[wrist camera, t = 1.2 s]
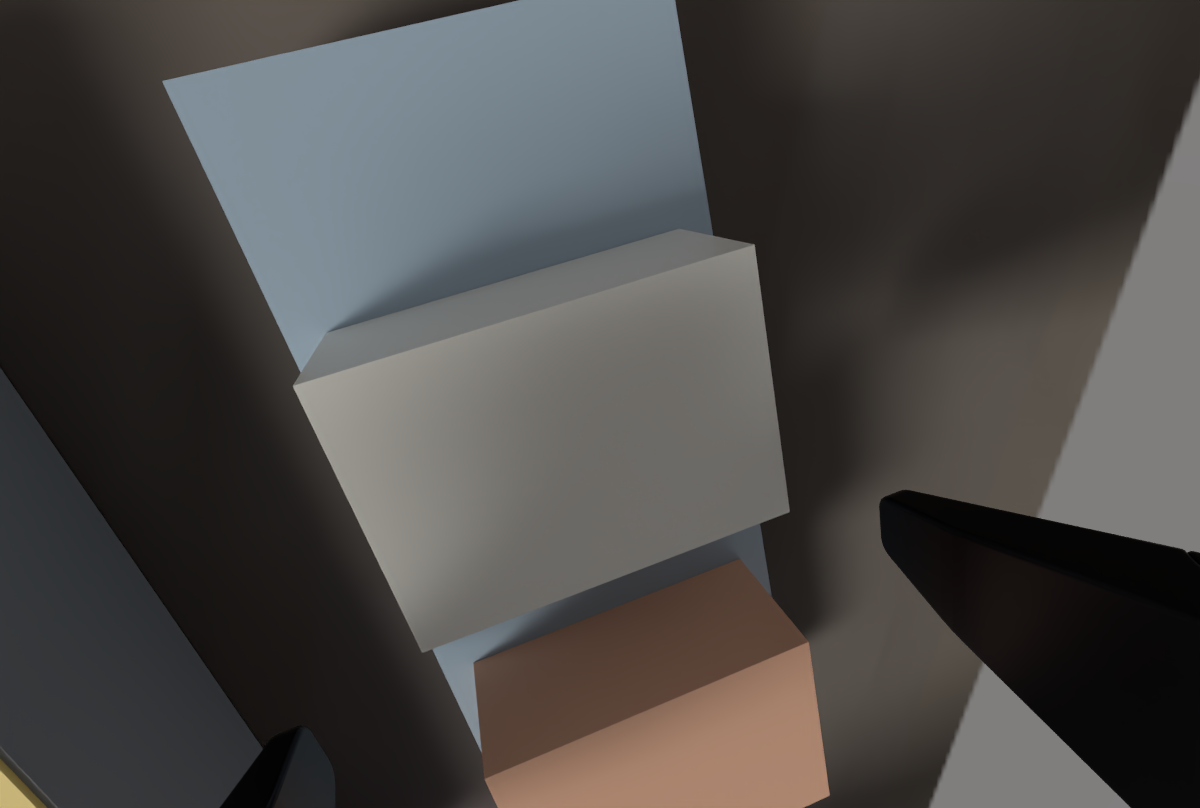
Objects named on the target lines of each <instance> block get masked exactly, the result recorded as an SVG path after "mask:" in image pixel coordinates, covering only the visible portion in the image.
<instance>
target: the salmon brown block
mask: <svg viewBox="0 0 1200 808" xmlns="http://www.w3.org/2000/svg"><path fill="white" fill-rule="evenodd" d="M473 666H474V676H475V687H476V697H477V708H478V718H479V729H480V739H481V750H482V760H483V770H484V779H485V782H486V784H487V786H488V788H489V790H490V792H491V794H492V796H493V798H494V800H495V802H496V804H497V806H498V808H804V807H806V806H808V805H810V804H813V803H815V802H817V801H819V800H821V799H823V798H825V797H827V796H830V794H829V786H828V779H827V772H826V765H825V757H824V750H823V743H822V735H821V728H820V721H819V714H818V706H817V699H816V692H815V684H814V677H813V670H812V663H811V655H810V648H809V642H808V640H807V639H806V638H805V637H804V636H803V634H802V633H801V632H800V631H799V630H798V628H797V627H796V626H795V625H794V624H793V622H792V621H791V620H790V619H789V618H788V616H787V615H786V614H785V613H784V611H783V610H782V609H781V608H780V607H779V605H778V604H777V603H776V602H775V601H774V599H773V598H772V597H771V596H770V595H769V593H768V592H767V591H766V590H765V589H764V587H763V586H762V585H761V584H760V582H759V581H758V580H757V579H756V578H755V576H754V575H753V574H752V573H751V572H750V570H749V569H748V568H747V567H746V566H745V564H744V563H743V562H742V561H741V560H740V559H737V560H735V561H732V562H730V563H727V564H725V565H722V566H719V567H717V568H714V569H712V570H709V571H707V572H704V573H702V574H699V575H696V576H694V577H691V578H689V579H686V580H684V581H681V582H679V583H676V584H674V585H671V586H668V587H666V588H663V589H661V590H658V591H656V592H653V593H651V594H648V595H645V596H643V597H640V598H638V599H635V600H633V601H630V602H628V603H625V604H623V605H620V606H617V607H615V608H612V609H610V610H607V611H605V612H602V613H600V614H597V615H595V616H592V617H589V618H587V619H584V620H582V621H579V622H577V623H574V624H572V625H569V626H566V627H564V628H561V629H559V630H556V631H554V632H551V633H549V634H546V635H544V636H541V637H538V638H536V639H533V640H531V641H528V642H526V643H523V644H521V645H518V646H515V647H513V648H510V649H508V650H505V651H503V652H500V653H498V654H495V655H493V656H490V657H487V658H485V659H482V660H480V661H477V662H475V663H473Z"/></svg>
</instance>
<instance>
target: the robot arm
mask: <svg viewBox="0 0 1200 808" xmlns="http://www.w3.org/2000/svg"><path fill="white" fill-rule="evenodd" d="M879 510H880V525H881V539H882V543H883V546H884V548H885V550H886V552H887V554H888V555H889V556H890V557H891V559H892V560H893V561H894V562H895V563H896V565H897V566H898V567H899V568H900V569H901V571H902V572H903V573H904V574H905V575H906V577H907V578H908V579H909V580H910V581H911V583H912V584H913V585H914V586H915V587H916V589H917V590H918V591H919V592H920V593H921V595H922V596H923V597H924V598H925V599H926V601H927V602H928V603H929V604H930V605H931V607H932V608H933V609H934V610H935V611H936V613H937V614H938V615H939V616H940V617H941V619H942V620H943V621H944V622H945V623H946V624H947V625H948V626H949V628H950V629H951V630H952V631H953V632H954V633H955V634H956V635H957V636H958V637H959V638H960V639H961V640H962V641H963V642H964V643H965V644H966V645H967V646H968V647H969V648H970V649H971V650H972V651H973V652H974V653H975V654H976V655H977V656H978V657H979V658H980V659H981V660H982V661H983V662H984V663H985V664H986V665H987V666H988V667H989V668H990V669H991V670H992V671H993V672H994V673H995V674H996V675H997V676H998V677H999V678H1000V679H1001V680H1002V681H1003V682H1004V683H1005V684H1006V685H1007V686H1008V687H1009V688H1010V689H1011V690H1012V691H1013V692H1014V693H1015V694H1016V695H1017V696H1018V697H1019V698H1020V699H1021V700H1023V702H1024V703H1025V704H1026V705H1027V706H1029V708H1030V709H1031V710H1033V712H1034V713H1035V714H1037V715H1038V716H1039V717H1040V718H1041V719H1042V720H1043V721H1044V722H1045V723H1046V724H1047V725H1048V726H1049V727H1050V728H1051V729H1052V730H1053V731H1054V732H1055V733H1056V734H1057V735H1058V736H1059V737H1060V738H1061V739H1062V740H1063V741H1064V742H1065V743H1066V744H1067V745H1068V746H1069V747H1070V748H1071V749H1072V750H1073V751H1074V752H1075V753H1076V754H1077V755H1078V756H1079V757H1080V758H1081V759H1082V760H1083V761H1084V762H1085V763H1086V764H1087V765H1088V766H1089V767H1090V768H1091V769H1092V770H1093V771H1094V772H1095V773H1096V774H1097V775H1098V776H1099V777H1100V778H1101V779H1102V780H1103V781H1104V782H1105V783H1107V784H1108V785H1109V787H1111V789H1112V790H1113V791H1114V792H1116V793H1117V794H1118V795H1119V796H1120V797H1121V798H1122V799H1123V800H1124V801H1125V802H1126V803H1127V804H1128V805H1129V806H1130V807H1131V808H1200V553H1199V552H1194V551H1190V552H1188V553H1187V552H1186V551H1185V550H1183V549H1180V548H1175V547H1170V546H1166V545H1161V544H1156V543H1152V542H1147V541H1142V540H1138V539H1133V538H1129V537H1124V536H1119V535H1115V534H1110V533H1105V532H1101V531H1096V530H1092V529H1086V528H1082V527H1078V526H1073V525H1068V524H1064V523H1059V522H1054V521H1050V520H1045V519H1041V518H1036V517H1031V516H1027V515H1022V514H1017V513H1013V512H1008V511H1003V510H999V509H994V508H989V507H985V506H980V505H976V504H971V503H966V502H962V501H957V500H952V499H948V498H943V497H938V496H934V495H929V494H924V493H920V492H915V491H911V490H901V491H898V492H896V493H893V494H890V495H888V496H885V497H884V498H882V499H881V501H880V504H879ZM219 808H335V776H334V771H333V767H332V765H331V762H330V761H329V759H328V757H327V756H326V754H325V753H324V751H323V749H322V748H321V746H320V745H319V743H318V741H317V740H316V738H315V737H314V735H313V733H312V732H311V731H310V729H309V728H307V727H306V726H298V727H295V728H293V729H290V730H287V731H285V732H282V733H280V734H277V735H276V736H274V737H273V738H271V739H270V741H269V742H268V743H267V744H266V746H265V747H264V748H263V750H262V751H261V752H260V754H259V755H258V756H257V758H256V759H255V760H254V762H253V763H252V764H251V766H250V767H249V768H248V770H247V771H246V772H245V774H244V775H243V776H242V778H241V779H240V781H239V782H238V783H237V785H236V786H235V787H234V789H233V790H232V791H231V793H230V794H229V795H228V797H227V798H226V799H225V801H224V802H223V803H222V805H221V806H220V807H219Z"/></svg>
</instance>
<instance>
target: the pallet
mask: <svg viewBox="0 0 1200 808" xmlns="http://www.w3.org/2000/svg"><path fill="white" fill-rule="evenodd" d="M162 82H163V84H164V86H165V88H166V90H167V93H168V95H169V97H170V99H171V101H172V103H173V105H174V107H175V109H176V111H177V114H178V116H179V118H180V120H181V122H182V124H183V126H184V128H185V130H186V133H187V135H188V137H189V139H190V141H191V143H192V145H193V147H194V149H195V151H196V154H197V156H198V158H199V160H200V162H201V164H202V166H203V168H204V170H205V172H206V175H207V177H208V179H209V181H210V183H211V185H212V187H213V189H214V191H215V193H216V196H217V198H218V200H219V202H220V204H221V206H222V208H223V210H224V212H225V214H226V217H227V219H228V221H229V223H230V225H231V227H232V229H233V231H234V233H235V235H236V238H237V240H238V242H239V244H240V246H241V248H242V250H243V252H244V254H245V256H246V259H247V261H248V263H249V265H250V267H251V269H252V271H253V273H254V275H255V278H256V280H257V282H258V284H259V286H260V288H261V290H262V292H263V294H264V296H265V299H266V301H267V303H268V305H269V307H270V309H271V311H272V313H273V315H274V317H275V320H276V322H277V324H278V326H279V328H280V330H281V332H282V334H283V336H284V338H285V341H286V343H287V345H288V347H289V349H290V351H291V353H292V355H293V357H294V359H295V362H296V364H297V366H298V368H299V370H300V372H302V370H303V369H304V367H305V365H306V364H307V362H308V361H309V359H310V357H311V356H312V354H313V353H314V351H315V350H316V348H317V346H318V345H319V343H320V342H321V340H322V338H323V337H324V335H325V334H326V333H327V332H331V331H334V330H337V329H341V328H344V327H348V326H351V325H354V324H358V323H361V322H364V321H368V320H371V319H375V318H378V317H381V316H385V315H388V314H391V313H395V312H398V311H402V310H405V309H408V308H412V307H415V306H419V305H422V304H425V303H429V302H432V301H435V300H439V299H442V298H446V297H449V296H452V295H456V294H459V293H463V292H466V291H469V290H473V289H476V288H479V287H483V286H486V285H490V284H493V283H496V282H500V281H503V280H507V279H510V278H513V277H517V276H520V275H523V274H527V273H530V272H534V271H537V270H540V269H544V268H547V267H550V266H554V265H557V264H561V263H564V262H567V261H571V260H574V259H578V258H581V257H584V256H588V255H591V254H594V253H598V252H601V251H605V250H608V249H611V248H615V247H618V246H622V245H625V244H628V243H632V242H635V241H638V240H642V239H645V238H649V237H652V236H655V235H659V234H662V233H666V232H669V231H672V230H676V229H683V230H688V231H693V232H698V233H702V234H707V235H712V236H713V231H712V225H711V219H710V213H709V207H708V200H707V194H706V188H705V182H704V176H703V170H702V164H701V157H700V151H699V145H698V139H697V133H696V127H695V120H694V114H693V108H692V102H691V96H690V90H689V83H688V77H687V71H686V65H685V59H684V53H683V46H682V40H681V34H680V28H679V22H678V16H677V10H676V3H675V0H518V1H514V2H509V3H505V4H501V5H496V6H492V7H487V8H483V9H479V10H474V11H470V12H465V13H461V14H456V15H452V16H448V17H443V18H439V19H434V20H430V21H426V22H421V23H417V24H412V25H408V26H403V27H399V28H395V29H390V30H386V31H381V32H377V33H373V34H368V35H364V36H359V37H355V38H351V39H346V40H342V41H337V42H333V43H328V44H324V45H320V46H315V47H311V48H306V49H302V50H298V51H293V52H289V53H284V54H280V55H275V56H271V57H267V58H262V59H258V60H253V61H249V62H245V63H240V64H236V65H231V66H227V67H223V68H218V69H214V70H209V71H205V72H200V73H196V74H192V75H187V76H183V77H178V78H174V79H170V80H165V81H162ZM737 559H740V560H741V561H742V562H743V563H744V564H745V566H746V567H747V568H748V569H749V570H750V572H751V573H752V574H753V575H754V576H755V578H756V579H757V580H758V581H759V582H760V584H761V585H762V586H763V587H764V589H765V590H766V591H767V592H768V593H769V595H770V596H771V597H772V595H771V589H770V582H769V576H768V570H767V564H766V558H765V552H764V545H763V539H762V533H761V527H760V524H757V525H755V526H752V527H749V528H747V529H744V530H742V531H739V532H736V533H734V534H731V535H728V536H726V537H723V538H721V539H718V540H715V541H713V542H710V543H708V544H705V545H702V546H700V547H697V548H695V549H692V550H689V551H687V552H684V553H682V554H679V555H676V556H674V557H671V558H669V559H666V560H663V561H661V562H658V563H656V564H653V565H650V566H648V567H645V568H643V569H640V570H637V571H635V572H632V573H630V574H627V575H624V576H622V577H619V578H616V579H614V580H611V581H609V582H606V583H603V584H601V585H598V586H596V587H593V588H590V589H588V590H585V591H583V592H580V593H577V594H575V595H572V596H570V597H567V598H564V599H562V600H559V601H557V602H554V603H551V604H549V605H546V606H544V607H541V608H538V609H536V610H533V611H531V612H528V613H525V614H523V615H520V616H517V617H515V618H512V619H510V620H507V621H504V622H502V623H499V624H497V625H494V626H491V627H489V628H486V629H484V630H481V631H478V632H476V633H473V634H471V635H468V636H465V637H463V638H460V639H458V640H455V641H452V642H450V643H447V644H445V645H442V646H439V647H437V648H434V649H433V652H434V654H435V656H436V658H437V660H438V662H439V664H440V666H441V668H442V670H443V673H444V675H445V677H446V679H447V681H448V683H449V685H450V687H451V689H452V691H453V694H454V696H455V698H456V700H457V702H458V704H459V706H460V708H461V710H462V713H463V715H464V717H465V719H466V721H467V723H468V725H469V727H470V729H471V731H472V734H473V736H474V738H475V740H476V742H477V744H478V746H479V748H480V750H481V739H480V729H479V718H478V708H477V697H476V687H475V676H474V666H473V663H475V662H477V661H480V660H482V659H485V658H487V657H490V656H493V655H495V654H498V653H500V652H503V651H505V650H508V649H510V648H513V647H515V646H518V645H521V644H523V643H526V642H528V641H531V640H533V639H536V638H538V637H541V636H544V635H546V634H549V633H551V632H554V631H556V630H559V629H561V628H564V627H566V626H569V625H572V624H574V623H577V622H579V621H582V620H584V619H587V618H589V617H592V616H595V615H597V614H600V613H602V612H605V611H607V610H610V609H612V608H615V607H617V606H620V605H623V604H625V603H628V602H630V601H633V600H635V599H638V598H640V597H643V596H645V595H648V594H651V593H653V592H656V591H658V590H661V589H663V588H666V587H668V586H671V585H674V584H676V583H679V582H681V581H684V580H686V579H689V578H691V577H694V576H696V575H699V574H702V573H704V572H707V571H709V570H712V569H714V568H717V567H719V566H722V565H725V564H727V563H730V562H732V561H735V560H737ZM481 752H482V750H481Z"/></svg>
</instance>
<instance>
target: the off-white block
mask: <svg viewBox="0 0 1200 808" xmlns="http://www.w3.org/2000/svg"><path fill="white" fill-rule="evenodd" d="M293 388H294V390H295V392H296V394H297V396H298V398H299V400H300V402H301V404H302V406H303V408H304V411H305V413H306V415H307V417H308V419H309V421H310V423H311V425H312V427H313V429H314V431H315V433H316V435H317V437H318V439H319V441H320V444H321V446H322V448H323V450H324V452H325V454H326V456H327V458H328V460H329V462H330V464H331V466H332V468H333V470H334V472H335V474H336V476H337V479H338V481H339V483H340V485H341V487H342V489H343V491H344V493H345V495H346V497H347V499H348V501H349V503H350V505H351V507H352V509H353V511H354V514H355V516H356V518H357V520H358V522H359V524H360V526H361V528H362V530H363V532H364V534H365V536H366V538H367V540H368V542H369V544H370V546H371V549H372V551H373V553H374V555H375V557H376V559H377V561H378V563H379V565H380V567H381V569H382V571H383V573H384V575H385V577H386V579H387V581H388V584H389V586H390V588H391V590H392V592H393V594H394V596H395V598H396V600H397V602H398V604H399V606H400V608H401V610H402V612H403V614H404V616H405V619H406V621H407V623H408V625H409V627H410V629H411V631H412V633H413V635H414V637H415V639H416V641H417V643H418V645H419V647H420V649H421V651H422V653H424V652H426V651H429V650H432V649H434V648H437V647H439V646H442V645H445V644H447V643H450V642H452V641H455V640H458V639H460V638H463V637H465V636H468V635H471V634H473V633H476V632H478V631H481V630H484V629H486V628H489V627H491V626H494V625H497V624H499V623H502V622H504V621H507V620H510V619H512V618H515V617H517V616H520V615H523V614H525V613H528V612H531V611H533V610H536V609H538V608H541V607H544V606H546V605H549V604H551V603H554V602H557V601H559V600H562V599H564V598H567V597H570V596H572V595H575V594H577V593H580V592H583V591H585V590H588V589H590V588H593V587H596V586H598V585H601V584H603V583H606V582H609V581H611V580H614V579H616V578H619V577H622V576H624V575H627V574H630V573H632V572H635V571H637V570H640V569H643V568H645V567H648V566H650V565H653V564H656V563H658V562H661V561H663V560H666V559H669V558H671V557H674V556H676V555H679V554H682V553H684V552H687V551H689V550H692V549H695V548H697V547H700V546H702V545H705V544H708V543H710V542H713V541H715V540H718V539H721V538H723V537H726V536H728V535H731V534H734V533H736V532H739V531H742V530H744V529H747V528H749V527H752V526H755V525H757V524H760V523H762V522H765V521H768V520H770V519H773V518H775V517H778V516H781V515H783V514H786V513H788V512H790V509H789V501H788V494H787V486H786V479H785V471H784V464H783V456H782V448H781V441H780V433H779V426H778V418H777V411H776V403H775V395H774V388H773V380H772V373H771V365H770V358H769V350H768V342H767V335H766V327H765V320H764V312H763V305H762V297H761V289H760V282H759V274H758V267H757V259H756V252H755V245H754V244H750V243H745V242H740V241H735V240H731V239H726V238H721V237H716V236H712V235H707V234H702V233H698V232H693V231H688V230H683V229H676V230H672V231H669V232H666V233H662V234H659V235H655V236H652V237H649V238H645V239H642V240H638V241H635V242H632V243H628V244H625V245H622V246H618V247H615V248H611V249H608V250H605V251H601V252H598V253H594V254H591V255H588V256H584V257H581V258H578V259H574V260H571V261H567V262H564V263H561V264H557V265H554V266H550V267H547V268H544V269H540V270H537V271H534V272H530V273H527V274H523V275H520V276H517V277H513V278H510V279H507V280H503V281H500V282H496V283H493V284H490V285H486V286H483V287H479V288H476V289H473V290H469V291H466V292H463V293H459V294H456V295H452V296H449V297H446V298H442V299H439V300H435V301H432V302H429V303H425V304H422V305H419V306H415V307H412V308H408V309H405V310H402V311H398V312H395V313H391V314H388V315H385V316H381V317H378V318H375V319H371V320H368V321H364V322H361V323H358V324H354V325H351V326H348V327H344V328H341V329H337V330H334V331H331V332H327V333H326V334H325V335H324V337H323V338H322V340H321V342H320V343H319V345H318V346H317V348H316V350H315V351H314V353H313V354H312V356H311V357H310V359H309V361H308V362H307V364H306V365H305V367H304V369H303V370H302V372H301V373H300V375H299V377H298V378H297V380H296V381H295V383H294V385H293Z"/></svg>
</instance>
